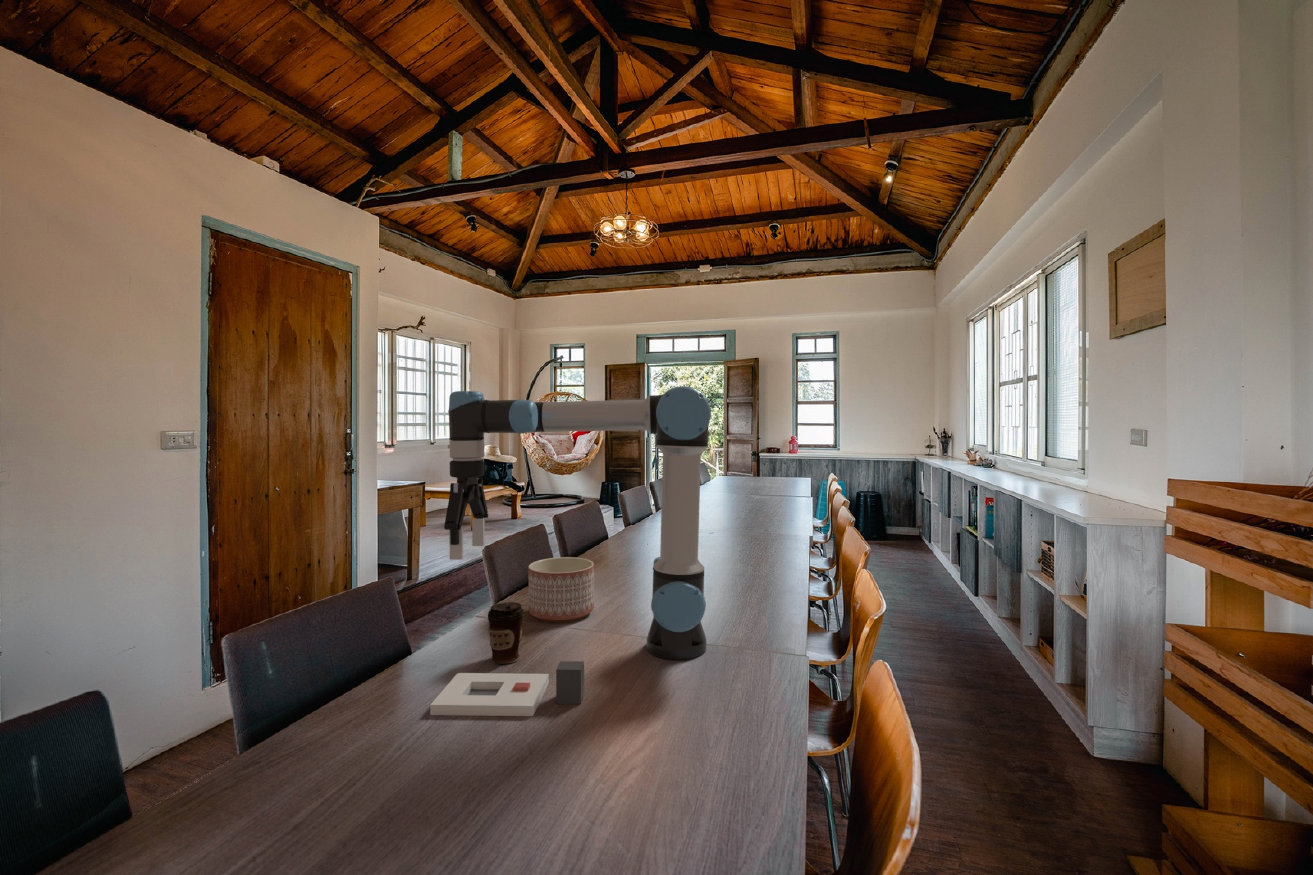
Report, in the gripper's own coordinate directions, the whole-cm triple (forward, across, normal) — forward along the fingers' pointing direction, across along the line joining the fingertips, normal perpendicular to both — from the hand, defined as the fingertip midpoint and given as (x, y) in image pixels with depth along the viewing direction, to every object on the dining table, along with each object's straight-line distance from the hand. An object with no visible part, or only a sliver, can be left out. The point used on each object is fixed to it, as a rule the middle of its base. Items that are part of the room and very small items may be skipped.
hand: (468, 552), depth 128 cm
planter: (+28, -39, +13) cm, 50 cm away
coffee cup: (+27, -6, +7) cm, 29 cm away
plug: (+27, +13, +26) cm, 40 cm away
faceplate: (+27, +13, +10) cm, 32 cm away
